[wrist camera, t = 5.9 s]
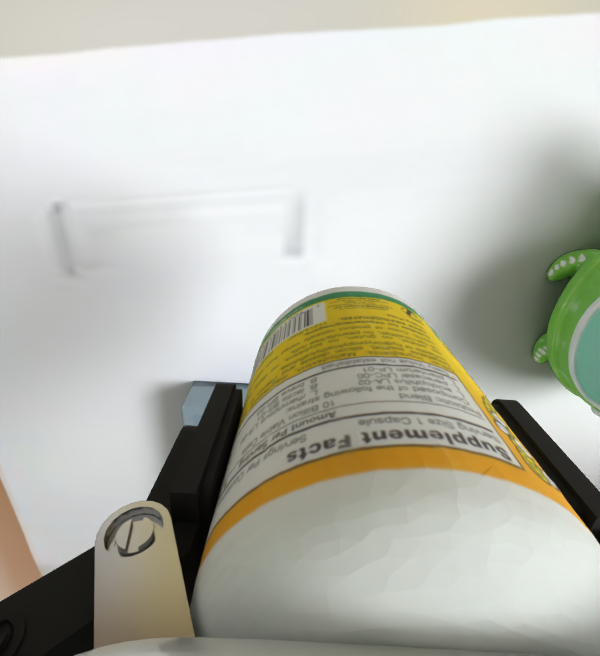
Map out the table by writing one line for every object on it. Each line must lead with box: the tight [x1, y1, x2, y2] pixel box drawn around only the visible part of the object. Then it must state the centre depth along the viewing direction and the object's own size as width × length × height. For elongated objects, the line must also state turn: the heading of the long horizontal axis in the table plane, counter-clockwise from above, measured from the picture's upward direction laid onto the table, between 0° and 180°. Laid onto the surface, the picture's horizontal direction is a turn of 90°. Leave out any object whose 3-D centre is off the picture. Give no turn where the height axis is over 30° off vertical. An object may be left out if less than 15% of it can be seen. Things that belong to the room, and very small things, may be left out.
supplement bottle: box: [190, 287, 600, 656], centre depth 8 cm, size 7×7×13 cm
